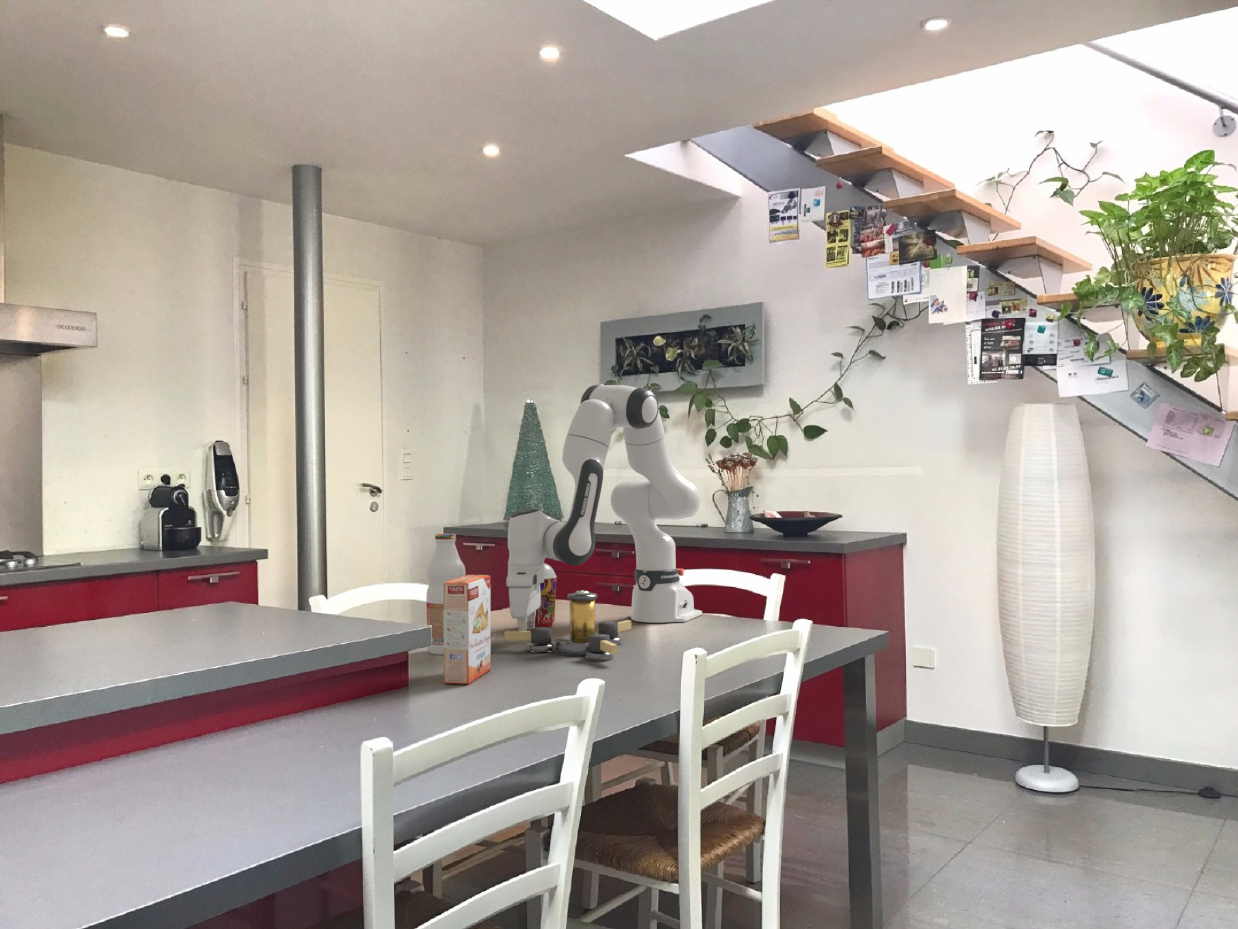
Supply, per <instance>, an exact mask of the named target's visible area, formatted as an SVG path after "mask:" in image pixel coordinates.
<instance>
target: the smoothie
mask: <svg viewBox="0 0 1238 929" xmlns="http://www.w3.org/2000/svg"><path fill="white" fill-rule="evenodd" d="M555 572H556V571H555V570H554V569H553V568H552V566H551V565H549V564H547V563H545V562H544V582H543V583H540V593H541V605H540V607H539V608H538V609H537V610H536V615H535V628H538V627H549V628H552V627H553V625H554V624H553V623H554V622H555V620H556V619H555V617H556V616H555V615H556V614H555V613H556V598H557V597H556V594H557V592H556V591H557V575H556V573H555Z"/></svg>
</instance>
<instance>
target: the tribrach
mask: <svg viewBox="0 0 1238 929" xmlns="http://www.w3.org/2000/svg"><path fill="white" fill-rule="evenodd" d="M567 599H568V600H569V634H570V635H567V636H563V637H559V638H557V639H555V642H552V641H551V643H549V644H532V643H531V642H529V643H527V651H528V650H529V651H534V652H548V651H556V652H557V653H556V652H555V653H556V654H558V655H561V654H563V655H562V656H566V655H567V656H568V657H584V658H585V660H586V661H590V662H607V661H612V660H613V659H614V655H611V654H609V653H607V652H591V651H589V637H588V636H589V635H594V634H597V632H596V599H598V594H597V593H594V592H590V591H589V590H576V591H575V592H573V593H572V592H571V593H568V594H567ZM610 642H612V643H614V644H616V645H617V647H618V646H620V645H622V636H620V635H618V637H614V638H610ZM548 653H549V652H548Z"/></svg>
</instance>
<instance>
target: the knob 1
mask: <svg viewBox="0 0 1238 929" xmlns="http://www.w3.org/2000/svg"><path fill="white" fill-rule="evenodd" d="M503 635H504V636H503V638H504V641H530V643H532V644H549V643H551V642H552V627H549V628H548V627H538V628H532V629H530V630H527V631H519V630H505V631H504V634H503Z"/></svg>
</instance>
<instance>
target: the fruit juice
mask: <svg viewBox="0 0 1238 929" xmlns="http://www.w3.org/2000/svg"><path fill="white" fill-rule="evenodd" d="M434 539H435V540H434V541H435V543H436V545H435V548H434V552H433V555H432V558H431V560H430V562H429V563H428V565H427V568H426V577H427V580H428V587H427V589H426V596H425V598H426V600H425V601H426V626H427V625H432V645H431V646H430V647H426V648H427V649H426V650H427V652H428V653H429V654H431V655H438V656H439V655H441V656H444V626H443V583H444V582H447V581H450V580H453V579H457V578H460V577H463V576H466V567H465V564H464V562H463V561H462V559H461V558H460V555H459V551H458V549H457V546H456V540H457V534H456V533H435V535H434Z"/></svg>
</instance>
